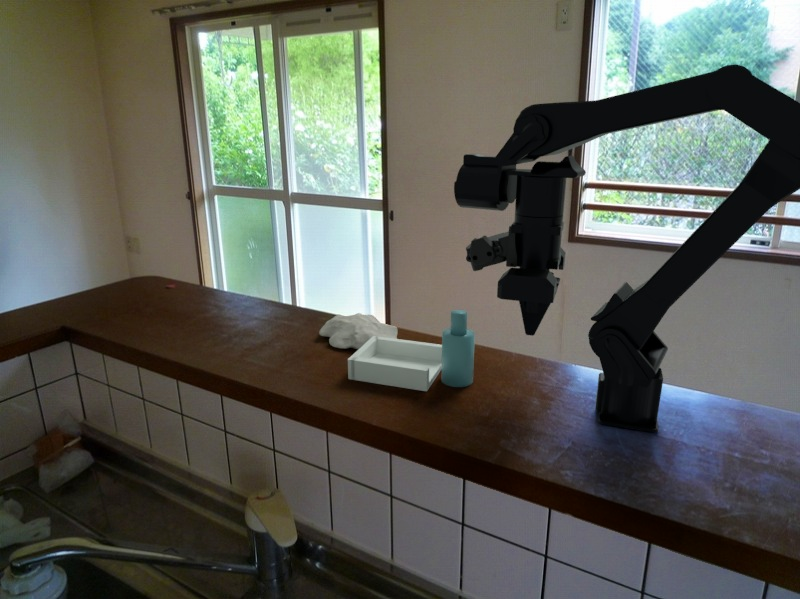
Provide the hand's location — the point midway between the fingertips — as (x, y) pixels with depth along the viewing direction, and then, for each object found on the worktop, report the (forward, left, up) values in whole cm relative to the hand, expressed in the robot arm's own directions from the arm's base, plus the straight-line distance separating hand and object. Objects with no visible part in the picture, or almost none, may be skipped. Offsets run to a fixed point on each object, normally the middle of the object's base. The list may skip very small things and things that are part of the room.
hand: (530, 334), depth 72 cm
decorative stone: (+28, -9, -9) cm, 31 cm away
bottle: (+9, 0, -8) cm, 12 cm away
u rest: (+18, 0, -8) cm, 20 cm away
